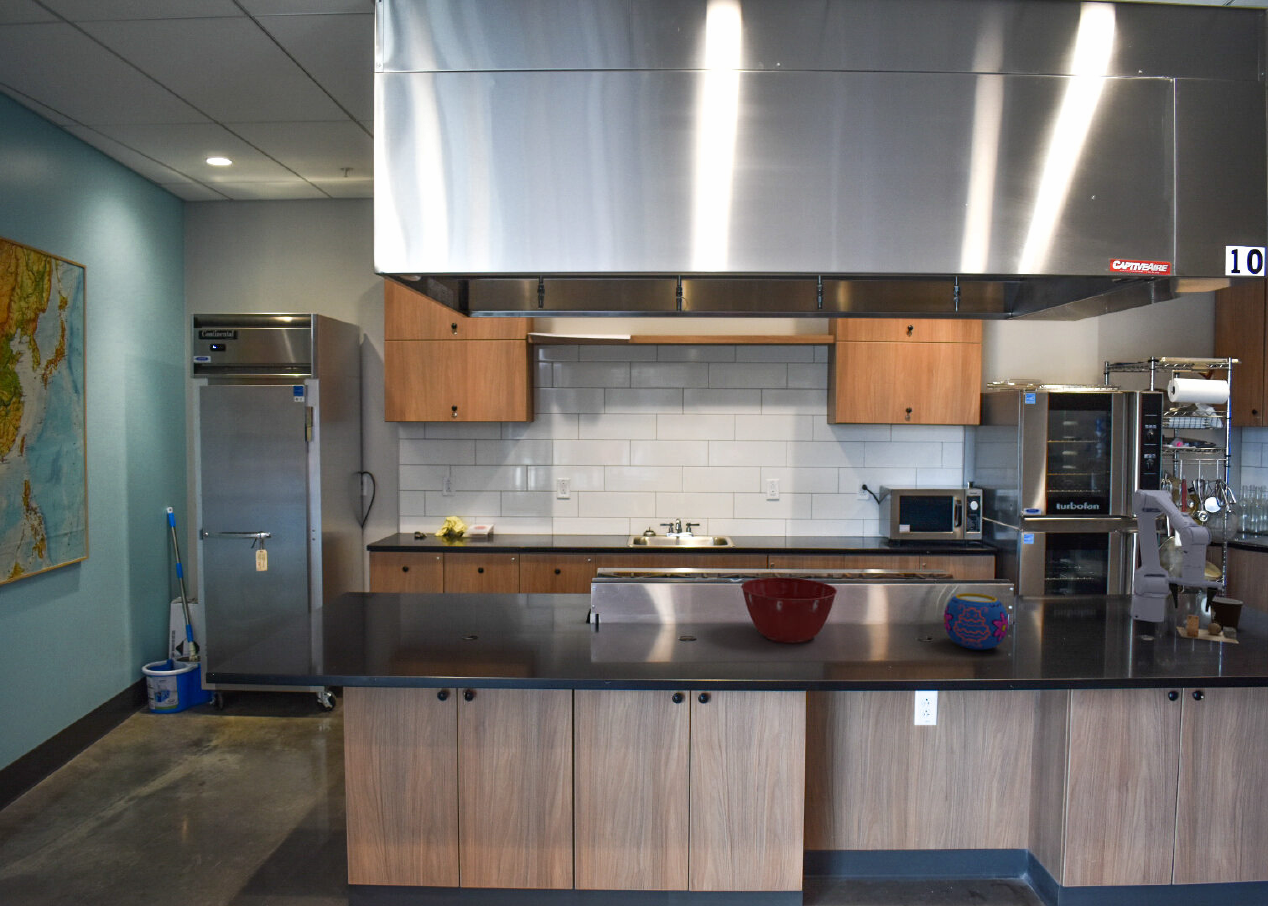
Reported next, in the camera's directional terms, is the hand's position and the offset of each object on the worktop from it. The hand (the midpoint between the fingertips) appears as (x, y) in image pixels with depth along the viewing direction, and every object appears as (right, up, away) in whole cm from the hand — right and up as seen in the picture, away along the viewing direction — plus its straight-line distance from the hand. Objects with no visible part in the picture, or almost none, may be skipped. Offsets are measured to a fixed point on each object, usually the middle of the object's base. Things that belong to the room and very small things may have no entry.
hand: (1191, 609), depth 251 cm
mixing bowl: (-125, -8, -3) cm, 125 cm away
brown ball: (+7, -6, +3) cm, 10 cm away
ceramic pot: (-71, -9, -11) cm, 73 cm away
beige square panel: (+7, -9, +3) cm, 12 cm away
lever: (+3, -8, +5) cm, 10 cm away
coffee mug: (+19, -9, +12) cm, 24 cm away
